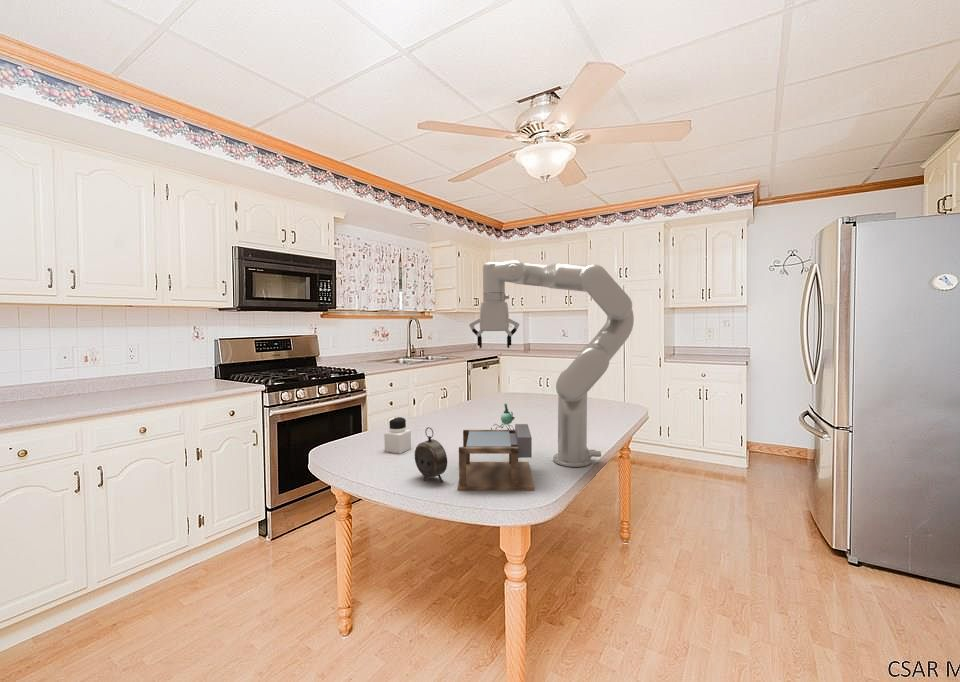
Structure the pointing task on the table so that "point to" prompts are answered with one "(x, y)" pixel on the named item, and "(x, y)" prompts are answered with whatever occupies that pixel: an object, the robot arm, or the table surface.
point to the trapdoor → (504, 439)
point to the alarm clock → (431, 458)
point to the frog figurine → (506, 418)
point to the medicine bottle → (397, 436)
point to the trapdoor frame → (492, 469)
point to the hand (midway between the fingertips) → (494, 347)
